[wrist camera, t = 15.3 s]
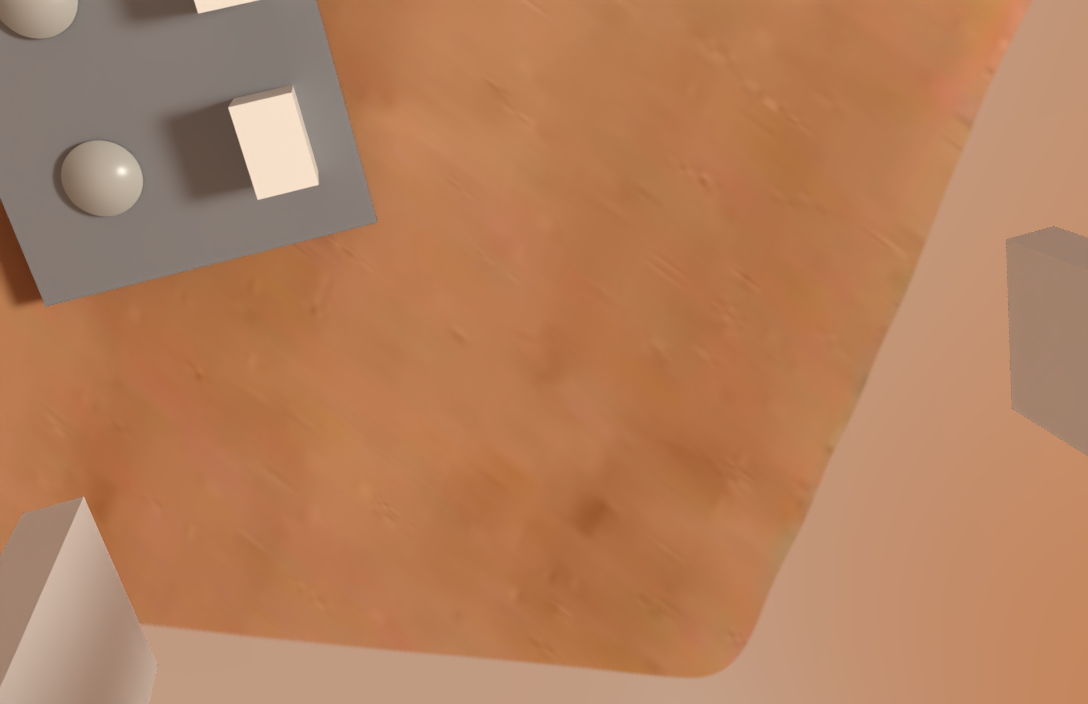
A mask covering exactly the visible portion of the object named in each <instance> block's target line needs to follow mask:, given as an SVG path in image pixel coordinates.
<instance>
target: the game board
mask: <svg viewBox="0 0 1088 704" xmlns="http://www.w3.org/2000/svg"><path fill="white" fill-rule="evenodd" d="M0 199H1V201H2V204H3V206H4V208H5V211H6V213H7V216H8V218H9V220H10V223H11V225H12V228H13V230H14V232H15V235H16V237H17V239H18V242H19V244H20V247H21V249H22V251H23V254H24V256H25V259H26V261H27V263H28V266H29V268H30V271H31V273H32V275H33V278H34V280H35V283H36V285H37V287H38V290H39V292H40V294H41V297H42V299H43V302H44V304H45V306H50V305H54V304H58V303H62V302H66V301H70V300H74V299H77V298H81V297H85V296H89V295H93V294H97V293H101V292H105V291H109V290H113V289H117V288H121V287H125V286H129V285H133V284H137V283H140V282H144V281H148V280H152V279H156V278H160V277H164V276H168V275H172V274H176V273H180V272H184V271H188V270H192V269H196V268H200V267H204V266H207V265H211V264H215V263H219V262H223V261H227V260H231V259H235V258H239V257H243V256H247V255H251V254H255V253H259V252H263V251H267V250H270V249H274V248H278V247H282V246H286V245H290V244H294V243H298V242H302V241H306V240H310V239H314V238H318V237H322V236H326V235H330V234H334V233H337V232H341V231H345V230H349V229H353V228H357V227H361V226H365V225H369V224H373V223H377V218H376V215H375V211H374V207H373V204H372V200H371V196H370V193H369V189H368V186H367V182H366V178H365V175H364V171H363V167H362V164H361V160H360V157H359V153H358V149H357V146H356V142H355V138H354V135H353V131H352V128H351V124H350V120H349V117H348V113H347V109H346V106H345V102H344V99H343V95H342V91H341V88H340V84H339V80H338V77H337V73H336V70H335V66H334V62H333V59H332V55H331V51H330V48H329V44H328V41H327V37H326V33H325V30H324V26H323V22H322V19H321V15H320V12H319V8H318V4H317V1H316V0H0Z"/></svg>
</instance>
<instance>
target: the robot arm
mask: <svg viewBox="0 0 1088 704" xmlns="http://www.w3.org/2000/svg"><path fill="white" fill-rule="evenodd" d="M1006 252H1007V280H1008V311H1009V339H1010V340H1009V341H1010V367H1011V368H1010V370H1011V400H1012V409H1013V410H1015V411H1016V412H1018V413H1020V414H1021V415H1023V416H1024V417H1026V418H1028V419H1030V420H1031V421H1032V422H1034V423H1036V424H1037V425H1039V426H1041V427H1042V428H1044V429H1045V430H1047V431H1049V432H1050V433H1052V434H1053V435H1055V436H1057V437H1058V438H1060V439H1061V440H1063V441H1065V442H1066V443H1068V444H1069V445H1071V446H1073V447H1074V448H1076V449H1077V450H1079V451H1081V452H1083V453H1084V454H1086V455H1087V456H1088V238H1087V237H1084V236H1081V235H1078V234H1075V233H1072V232H1070V231H1066V230H1064V229H1061V228H1058V227H1055V226H1053V227H1049V228H1046V229H1042V230H1039V231H1035V232H1031V233H1028V234H1024V235H1021V236H1017V237H1014V238H1010V239H1007V240H1006ZM157 667H158V665H157V662H156V660H155V658H154V656H153V653H152V651H151V649H150V646H149V644H148V642H147V640H146V637H145V635H144V633H143V631H142V628H141V626H140V624H139V621H138V619H137V617H136V615H135V612H134V610H133V608H132V605H131V603H130V601H129V599H128V596H127V594H126V592H125V589H124V587H123V585H122V583H121V580H120V578H119V576H118V574H117V571H116V569H115V567H114V564H113V562H112V560H111V558H110V555H109V553H108V551H107V549H106V546H105V544H104V542H103V539H102V537H101V535H100V533H99V530H98V528H97V526H96V523H95V521H94V519H93V517H92V514H91V512H90V510H89V508H88V505H87V503H86V501H85V498H84V497H80V498H77V499H73V500H70V501H66V502H62V503H59V504H55V505H52V506H48V507H44V508H41V509H37V510H34V511H30V512H27V513H23V515H22V516H21V518H20V520H19V522H18V524H17V526H16V528H15V529H14V531H13V533H12V535H11V537H10V539H9V541H8V543H7V544H6V546H5V548H4V550H3V552H2V554H1V556H0V704H149V703H150V698H151V694H152V689H153V685H154V680H155V676H156V671H157Z"/></svg>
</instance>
